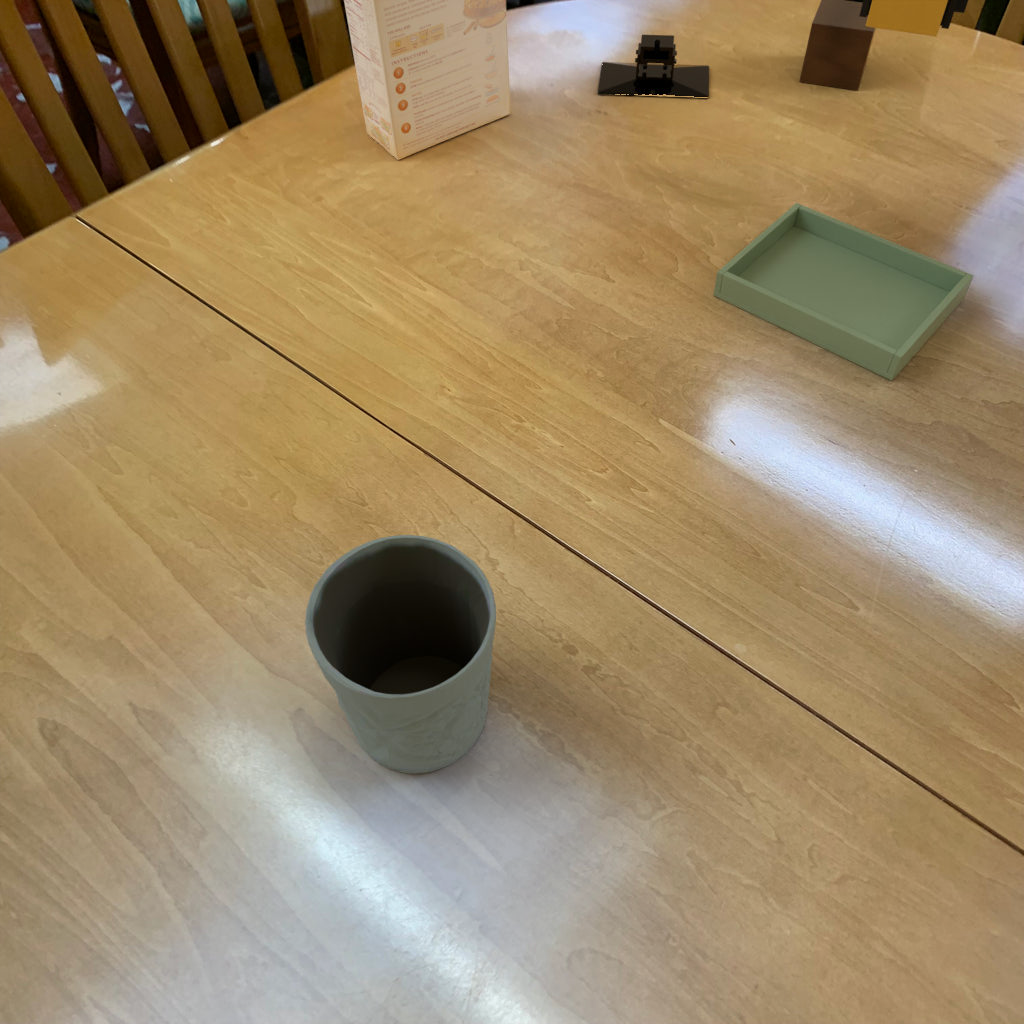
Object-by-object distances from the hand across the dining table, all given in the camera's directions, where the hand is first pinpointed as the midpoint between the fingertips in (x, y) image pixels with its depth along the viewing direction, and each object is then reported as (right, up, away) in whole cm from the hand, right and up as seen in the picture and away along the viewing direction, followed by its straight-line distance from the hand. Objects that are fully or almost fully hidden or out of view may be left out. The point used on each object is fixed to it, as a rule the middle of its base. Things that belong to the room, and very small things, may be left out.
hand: (906, 12), depth 68 cm
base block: (+8, +13, +37) cm, 40 cm away
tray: (0, -18, +13) cm, 22 cm away
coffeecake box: (-37, +5, +33) cm, 50 cm away
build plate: (-13, +12, +38) cm, 42 cm away
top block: (0, 0, 0) cm, 0 cm away
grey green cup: (-35, -50, -10) cm, 61 cm away
